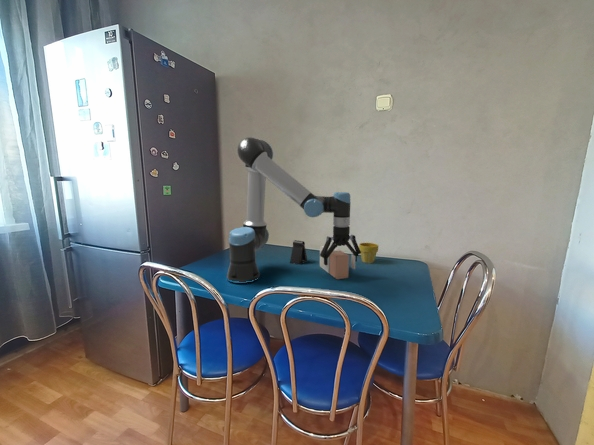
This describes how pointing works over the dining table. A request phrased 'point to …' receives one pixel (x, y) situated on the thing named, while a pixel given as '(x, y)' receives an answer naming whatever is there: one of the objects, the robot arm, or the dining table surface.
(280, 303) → the dining table surface
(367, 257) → the plant pot
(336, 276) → the salmon pink rectangular block
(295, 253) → the black a-frame stand
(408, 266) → the dining table surface
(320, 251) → the white box
